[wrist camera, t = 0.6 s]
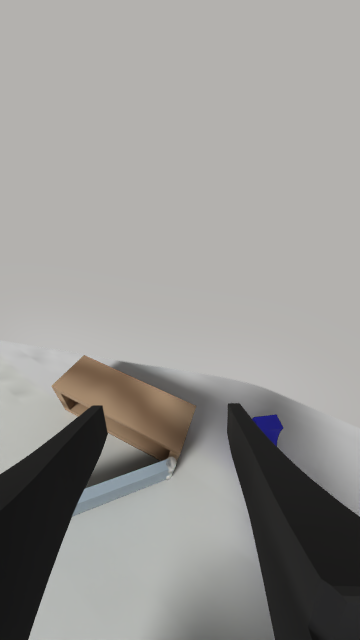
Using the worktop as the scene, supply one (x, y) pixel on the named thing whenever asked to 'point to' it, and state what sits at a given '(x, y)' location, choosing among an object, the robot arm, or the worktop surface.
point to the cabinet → (127, 407)
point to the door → (125, 485)
